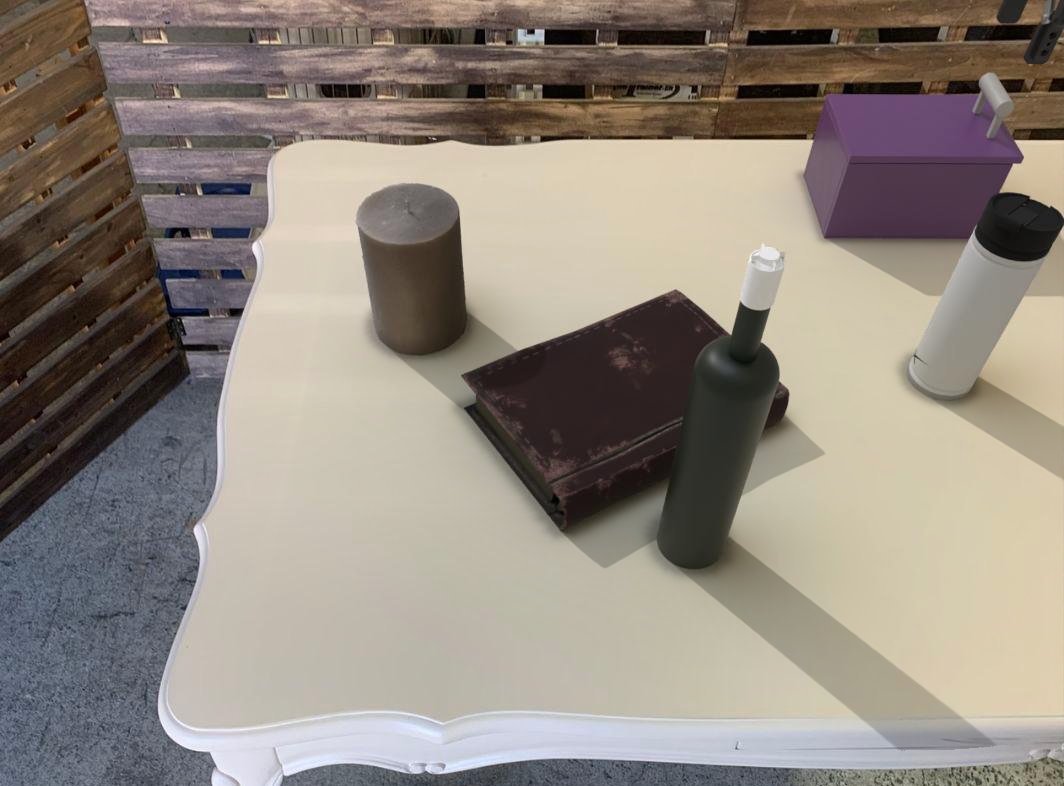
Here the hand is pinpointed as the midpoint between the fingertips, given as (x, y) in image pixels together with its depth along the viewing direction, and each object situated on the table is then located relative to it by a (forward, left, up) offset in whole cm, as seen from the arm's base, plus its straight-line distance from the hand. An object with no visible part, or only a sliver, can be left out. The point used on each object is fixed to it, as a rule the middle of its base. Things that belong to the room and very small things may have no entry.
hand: (1019, 41), depth 91 cm
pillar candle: (+61, +21, -20) cm, 67 cm away
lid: (+7, 0, -10) cm, 12 cm away
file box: (+7, 0, -19) cm, 21 cm away
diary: (+41, +34, -20) cm, 57 cm away
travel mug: (+9, +29, -20) cm, 36 cm away
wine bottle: (+36, +49, -20) cm, 64 cm away
